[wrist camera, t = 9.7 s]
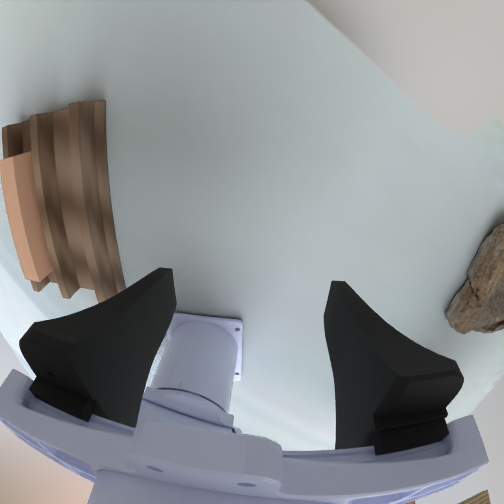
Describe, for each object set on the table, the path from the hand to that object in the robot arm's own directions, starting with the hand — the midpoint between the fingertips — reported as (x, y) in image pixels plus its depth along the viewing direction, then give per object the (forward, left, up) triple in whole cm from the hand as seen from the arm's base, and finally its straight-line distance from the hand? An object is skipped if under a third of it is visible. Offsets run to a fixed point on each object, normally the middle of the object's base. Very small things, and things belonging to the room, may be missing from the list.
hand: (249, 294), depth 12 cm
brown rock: (-5, -31, -11) cm, 34 cm away
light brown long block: (+1, +22, -9) cm, 24 cm away
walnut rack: (+1, +19, -10) cm, 22 cm away
